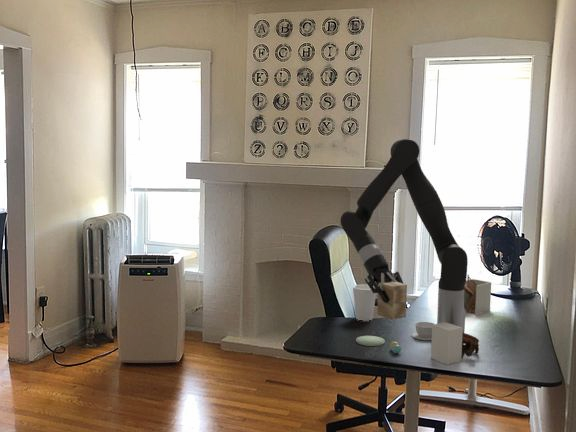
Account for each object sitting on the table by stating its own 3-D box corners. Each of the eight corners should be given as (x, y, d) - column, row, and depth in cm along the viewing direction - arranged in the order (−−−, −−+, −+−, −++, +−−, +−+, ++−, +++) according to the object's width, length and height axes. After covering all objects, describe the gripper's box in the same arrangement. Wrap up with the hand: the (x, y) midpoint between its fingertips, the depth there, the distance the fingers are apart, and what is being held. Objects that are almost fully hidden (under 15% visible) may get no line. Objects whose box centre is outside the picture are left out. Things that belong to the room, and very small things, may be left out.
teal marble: (396, 351, 209) (397, 342, 209) (402, 354, 207) (403, 345, 206) (389, 353, 208) (390, 344, 207) (396, 355, 205) (396, 346, 205)
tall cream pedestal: (444, 354, 207) (445, 322, 205) (461, 361, 201) (462, 327, 199) (431, 357, 203) (432, 324, 202) (447, 364, 197) (449, 330, 196)
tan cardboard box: (390, 312, 214) (392, 280, 213) (405, 317, 208) (406, 284, 207) (377, 314, 211) (378, 282, 210) (391, 319, 205) (393, 286, 204)
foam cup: (375, 323, 243) (376, 290, 242) (351, 321, 245) (352, 289, 244) (376, 316, 253) (377, 285, 251) (353, 315, 254) (354, 284, 253)
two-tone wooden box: (457, 311, 264) (458, 272, 263) (471, 307, 272) (473, 269, 270) (475, 315, 258) (477, 276, 256) (489, 311, 265) (491, 272, 263)
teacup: (406, 337, 226) (406, 324, 225) (419, 331, 234) (420, 319, 233) (431, 343, 220) (432, 330, 219) (444, 336, 227) (445, 324, 227)
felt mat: (372, 335, 227) (372, 334, 227) (390, 343, 218) (390, 341, 218) (350, 340, 221) (350, 338, 221) (368, 347, 213) (368, 346, 213)
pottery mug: (441, 352, 210) (450, 330, 212) (465, 364, 212) (473, 341, 214) (460, 355, 199) (468, 330, 201) (485, 366, 200) (493, 342, 202)
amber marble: (395, 348, 213) (395, 339, 212) (401, 350, 210) (401, 342, 210) (388, 349, 211) (388, 341, 211) (394, 352, 208) (394, 343, 208)
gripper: (362, 255, 210) (384, 297, 201) (394, 252, 218) (417, 292, 209) (351, 268, 215) (373, 309, 206) (383, 264, 223) (405, 304, 214)
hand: (395, 300), depth 208 cm, fingers closed on tan cardboard box, 6 cm apart
